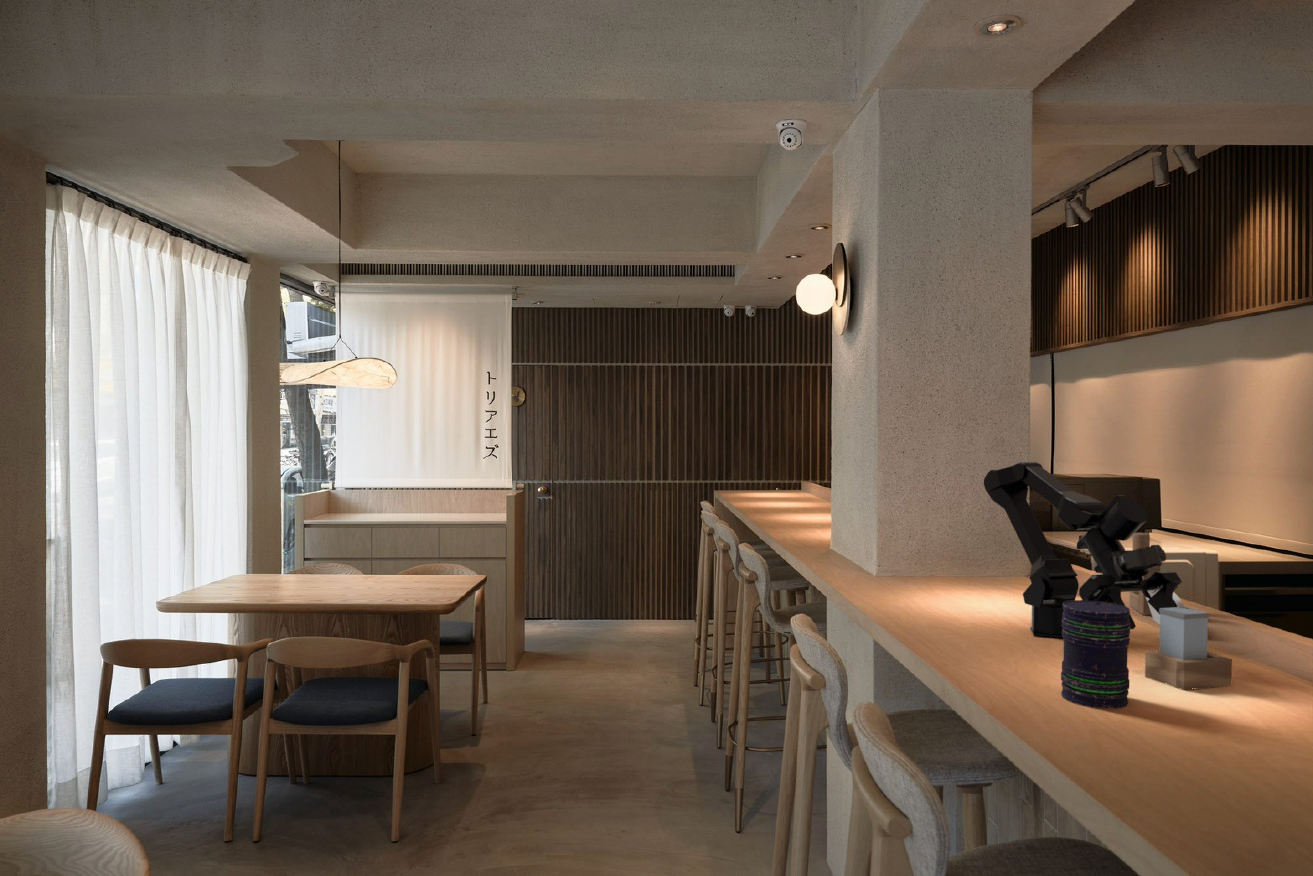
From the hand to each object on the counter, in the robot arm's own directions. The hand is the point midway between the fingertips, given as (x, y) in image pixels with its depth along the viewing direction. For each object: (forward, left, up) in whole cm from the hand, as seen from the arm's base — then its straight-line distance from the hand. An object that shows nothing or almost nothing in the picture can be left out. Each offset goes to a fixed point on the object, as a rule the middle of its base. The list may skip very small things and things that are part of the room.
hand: (1154, 626), depth 159 cm
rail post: (+3, -5, -8) cm, 10 cm away
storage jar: (-13, -22, -8) cm, 27 cm away
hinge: (+12, +37, -8) cm, 40 cm away
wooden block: (+10, +55, -8) cm, 57 cm away
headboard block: (+3, -5, -8) cm, 10 cm away
